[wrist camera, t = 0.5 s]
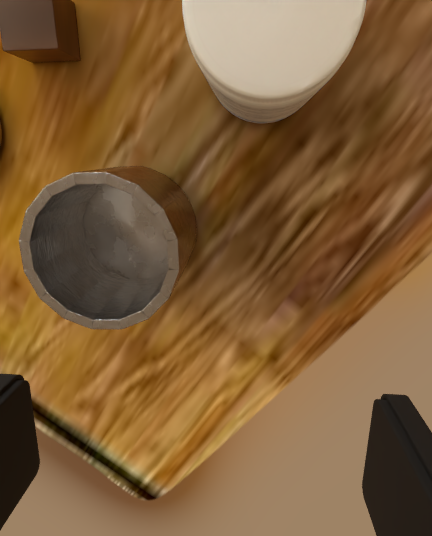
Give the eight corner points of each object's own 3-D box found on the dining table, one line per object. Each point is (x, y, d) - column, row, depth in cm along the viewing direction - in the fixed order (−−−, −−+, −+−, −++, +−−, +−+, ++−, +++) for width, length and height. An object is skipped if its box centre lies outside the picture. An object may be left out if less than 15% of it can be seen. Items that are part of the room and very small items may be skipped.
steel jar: (71, 167, 38) (7, 174, 28) (194, 165, 37) (174, 170, 27) (85, 284, 41) (32, 328, 31) (198, 285, 40) (182, 330, 30)
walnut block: (24, 5, 34) (-8, -15, 30) (74, 2, 34) (49, -19, 30) (32, 62, 35) (3, 51, 31) (80, 60, 35) (58, 48, 31)
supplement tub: (324, 114, 35) (376, 91, 21) (215, 131, 36) (195, 120, 22) (315, -13, 32) (368, -141, 18) (199, 9, 33) (163, -95, 19)
